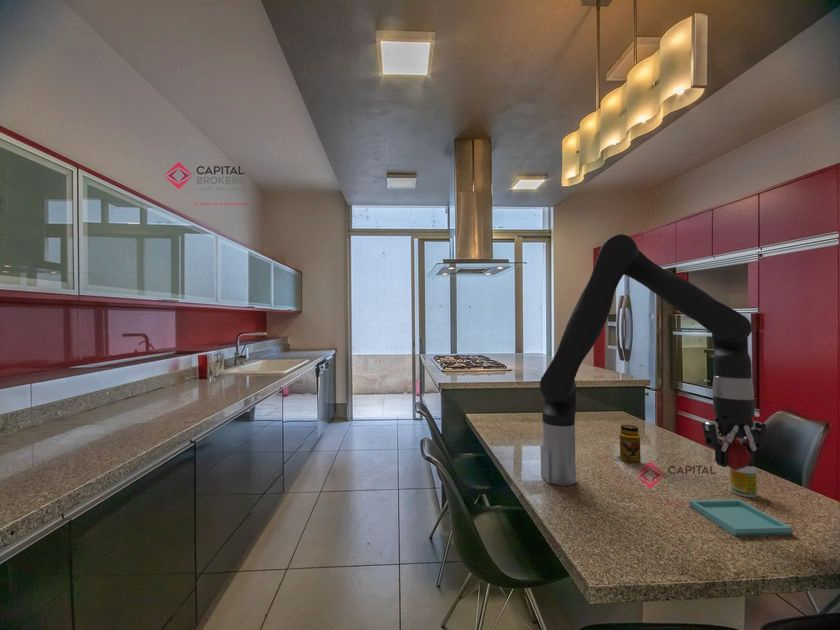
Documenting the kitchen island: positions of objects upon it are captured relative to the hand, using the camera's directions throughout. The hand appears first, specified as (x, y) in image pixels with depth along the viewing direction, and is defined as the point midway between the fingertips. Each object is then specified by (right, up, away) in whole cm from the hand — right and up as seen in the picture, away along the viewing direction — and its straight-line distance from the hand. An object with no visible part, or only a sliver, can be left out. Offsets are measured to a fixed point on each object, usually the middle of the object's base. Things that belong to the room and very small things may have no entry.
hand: (735, 465), depth 86 cm
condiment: (-4, -14, +37) cm, 40 cm away
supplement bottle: (+14, -13, +13) cm, 23 cm away
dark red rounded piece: (0, -1, 0) cm, 1 cm away
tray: (0, -13, 0) cm, 13 cm away
